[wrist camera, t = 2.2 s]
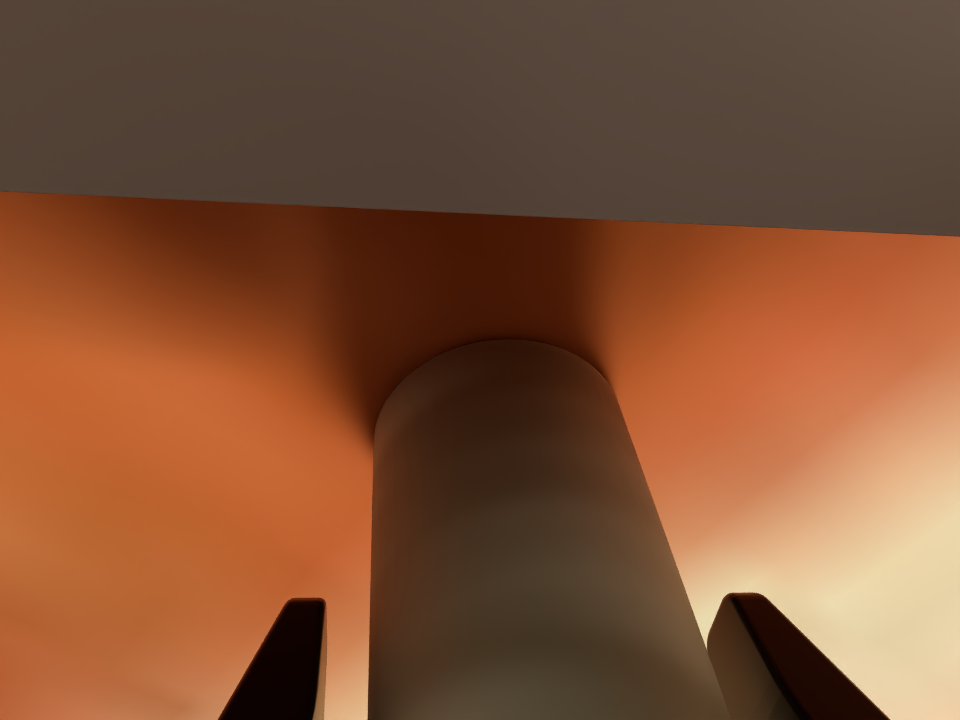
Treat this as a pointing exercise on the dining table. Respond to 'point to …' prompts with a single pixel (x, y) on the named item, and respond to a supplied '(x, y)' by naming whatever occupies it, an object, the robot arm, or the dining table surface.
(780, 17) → the socket block
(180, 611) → the dining table surface
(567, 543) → the peg
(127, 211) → the dining table surface
